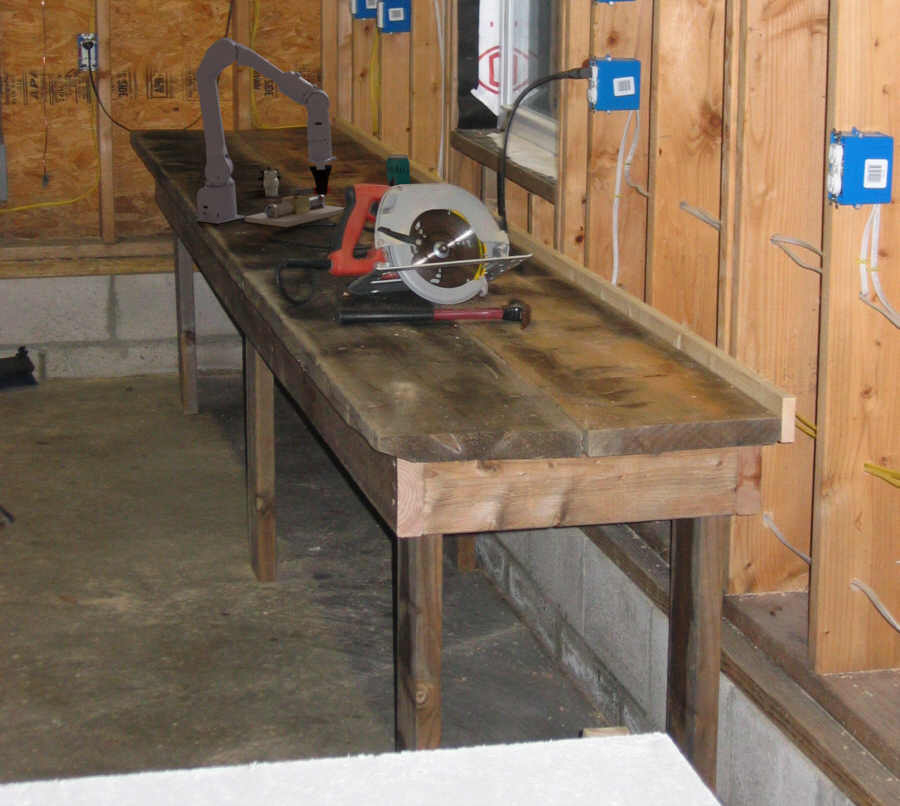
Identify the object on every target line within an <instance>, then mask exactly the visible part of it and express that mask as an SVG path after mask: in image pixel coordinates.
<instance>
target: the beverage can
mask: <svg viewBox="0 0 900 806" xmlns="http://www.w3.org/2000/svg"><path fill="white" fill-rule="evenodd" d="M386 158H387V159H386V164H385V165H386V167H385V168H386V169H385V170H386V186H387V185H389V186H393V185H399V184H410V185H411V172H410V171H411V168H410V165H411V164H410V159H409V156H408V154H407V155H406V154H390V155H387V156H386Z"/></svg>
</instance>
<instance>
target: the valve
mask: <svg viewBox="0 0 900 806" xmlns="http://www.w3.org/2000/svg"><path fill="white" fill-rule="evenodd" d="M259 173H260V174H261V176H257V178H256V179H257V181H258V182H260V181H261V184H260V187H261V188H264V190H265V192H264V193H265V196H266V197H278V196H279V193H278V192H279V191H278V189H279V185H280V183H279V182H280V180H282V175H278V173H279V170H278V168H274V169H272V168H271V166H270V165H268V166H266V170H264V169H263V168H262V169H260V170H259Z"/></svg>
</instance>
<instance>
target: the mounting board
mask: <svg viewBox="0 0 900 806" xmlns="http://www.w3.org/2000/svg"><path fill="white" fill-rule="evenodd" d="M344 208H345V207H340V206H335V205H334V206H333V205H325V207H322V208H321V207H318V208H314V209H310V212H306V213H302V214H298V215H295V214H288V215H283V216H279V217H277V218H275V219H274V218H268V217H267V216H266V213H265V211H264V212H261V213H255V214H252V215H247V216H245V218H244V220H245V222H247V223H254V224H261V225H268V226H276V227H284V228H288V227H293V226H297V225H300V224H305V223H310V222H313V221H317V220H322V219H327V218H331V217H335V216H338V215H342V214H341V213H342V212H343V209H344Z"/></svg>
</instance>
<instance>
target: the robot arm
mask: <svg viewBox="0 0 900 806" xmlns="http://www.w3.org/2000/svg"><path fill="white" fill-rule="evenodd" d="M235 61H236V66H239V67H240V66H242V67H243V66H245V67H250V68H252V69H253V70H254V71H256V72H258V73H260V74H261V75H263V76H265V77H266V78H268V79H269V80H271V81H273V82H274V83H276V85H277V87H278V91H279V92H280V93H282V95H284V96H286V97H288V98H289V99H290V100H292V101H293V102H295V103H297V104H298V105H300V106H302V105H303V106H305V110H306V111H307V121H306V125H307V129H306V131H307V145H308V146H307V147H308V148H307V151H308V158H307V161H308V162H309V163H312V164H315V165H309V170H310V172H311V174H312V176H313V179H314V183H315V186H316V189H317V193H318V195H323V196H326V195H327V189H328V185H329V179H330V175H331V172H332V169H333V164H328V163H330V162H332V161H337V159H338V158H337V156H333V154H332V153H333V151H332V134H331V131H332V130H331V120H330V117H331V115H330V111H329V110H330V106H331V103H330V97H329V96H328V94H327V93H326V92H325V91H324V90H323V88H322V89H321V88H318V85H316V84H315V83H313V84H312V83H310V82H309V81H307V80H306V79H304V78H303V77H301V76H302V74H301V73H300V72H298V71H296V72H294V71H292V70H289V71H285V72H284V71H283V70H281V69H280V68H278V67H277V66H275V65H274V64H273V63H272V62H270V61H269V60H267V59H266V58H264V57H263V56H262V55H260V54H259V53H257V52H256V51H254V50H253V49H252V48H250V47H248V46H246V45H245V44H242V43H240V42H238V43H237V41H236V40H234V39H233V38H232V37H228V36H226V37H225V36H224V37H220V38H219V39H217V40H216V41H215V42H214V43H212V44H211V45H210V46H209V47H208V48H207V49H206V51H205V53H204V55H203V57H202V60H201V61H200V64H199V66H198V68H197V69H196V72H195V77H196V84H197V85H196V86H197V91H198V92H197V93H198V98H199V107H200V111H201V118H202V125H203V126H202V127H203V132H204V138H205V145H206V148H205V149H206V150H205V151H206V152H205V154H206V165H205V167H204V175H205V178H206V180H205V182H204V183H205V184H204V187H201V188H199V190H197V194H196V206H197V216H198V217H197V218H196V219H195V221H197V222H201V223H209V224H217V225H218V224H222V223H226V222H227V223H229V222H233V221H237V220H240V219H245V217H246V216H245V215H242V214H241V215H240V214H238V213H237V212H238V211H237V210H238V208H237V207H238V206H237V197H236V194H237V193H236V184H235V183H236V181H235V180H234V179H233V178H232V177H231V175H232V174H233V171H234V163H233V161H232V159H231V158H230V156H229V153H228V147H227V145H226V139H225V131H224V125H223V118H222V111H221V104H220V103H221V102H220V96H219V89H218V83H217V79H218V77H219V76H220V74H221V73H222V72H223V71H224V70H225V69H227V68H228V67H229V66H230V65H232V64H233V63H234V62H235Z"/></svg>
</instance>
